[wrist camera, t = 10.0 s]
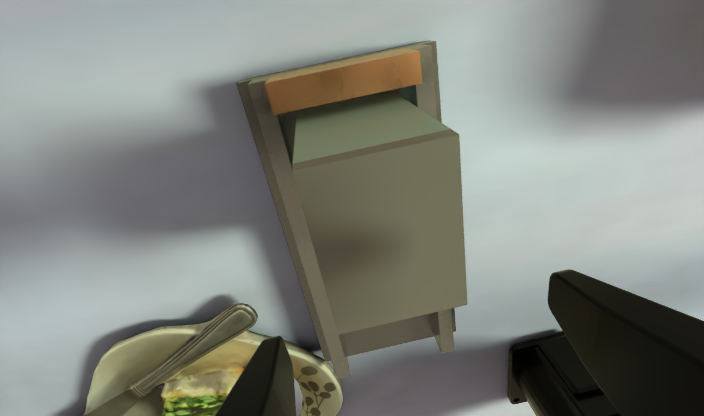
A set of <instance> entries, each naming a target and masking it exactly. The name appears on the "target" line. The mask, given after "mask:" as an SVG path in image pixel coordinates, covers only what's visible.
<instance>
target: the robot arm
mask: <svg viewBox="0 0 704 416" xmlns="http://www.w3.org/2000/svg"><path fill="white" fill-rule="evenodd" d="M548 305H549V308H550V310H551V312H552V314H553V315H554V317H555V319H556V320H557V322H558V323H559V325H560V327H561V328H562V330H563V332H564V333H563V334H559V335H555V336H551V337H546V338H542V339H538V340H534V341H529V342H525V343H521V344H517V345H514V346H512V347H511V348H510V350H509V383H508V398H509V400H510V402H511V403H512V404H518V403H522V402H527V401H528V403H529V405H530V406H531V408H532V409H533V411H534V413H535V414H536V416H704V321H702V320H699V319H697V318H694V317H692V316H689V315H687V314H684V313H682V312H679V311H676V310H674V309H671V308H669V307H666V306H664V305H661V304H658V303H656V302H653V301H651V300H648V299H646V298H643V297H641V296H638V295H635V294H633V293H630V292H628V291H625V290H623V289H620V288H617V287H615V286H612V285H610V284H607V283H605V282H602V281H600V280H597V279H594V278H592V277H589V276H587V275H584V274H582V273H579V272H577V271H574V270H563V271H559V272H555V273H552V274H551V276H550V281H549V291H548ZM215 416H296V407H295V390H294V374H293V365H292V361H291V358H290V356H289V353H288V350H287V348H286V345H285V342H284V340H283V338H282V337H280V336H277V337H272V338H268V339H264V340H263V341H262V342H261V343H260V345H259V346H258V348H257V350H256V351H255V353H254V354H253V356H252V357H251V359H250V361H249V362H248V364H247V365H246V367H245V368H244V370H243V372H242V373H241V375H240V376H239V378H238V379H237V381H236V383H235V384H234V386H233V387H232V389H231V391H230V392H229V394H228V395H227V397H226V398H225V400H224V402H223V403H222V405H221V406H220V408H219V409H218V411H217V413H216V414H215Z"/></svg>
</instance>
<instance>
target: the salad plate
mask: <svg viewBox="0 0 704 416" xmlns="http://www.w3.org/2000/svg"><path fill="white" fill-rule="evenodd" d="M257 318H258V315H257V313H256V311H255V310H254V309H253V308H252V307H251V306H249V305H247V304H242V303H241V304H235V305H233V306H231V307H229V308H228V309H226V310H225V311H223V312H222V313H221V314H219V315H218V316H217V317H215V318H214V319H212V320H211V321H209V322H205V323H200V324H192V325H183V326H163V327H159V328H155V329H153V330H150V331H146V332H143V333H141V334H138V335H136V336H133V337H131V338H128V339H124V340H121V341H119V342H117V343H115V344H114V345H113V346H112V347H111V349H110V350H109V351H108V352H106V353H105V354H104V355H103V356H102V358H101V359H100V361H99V363H98V365H97V367H96V369H95V371H94V374H93V377H92V383H91V386H90V390H89V394H88V397H87V404H86V411H85V413H84V415H83V416H215V414H216V413H217V411H218V409H219V408H220V406H221V405H222V403H223V402H224V400H225V398H226V397H227V395H228V394H229V392H230V391H231V389H232V387H233V386H234V384H235V383H236V381H237V379H238V378H239V376H240V375H241V373H242V372H243V370H244V368H245V367H246V365H247V364H248V362H249V361H250V359H251V357H252V356H253V354H254V353H255V351H256V350H257V348H258V346H259V345H260V343H261V342H262V341H263V340H264V339H268V338H272V337H269V336H265V335H260V334H256V333H252V332H249V331H247V330H248V329H249V328H251V327H252V326H253V325H254V324H255V323H256V321H257ZM284 342H285V345H286V348H287V350H288V353H289V356H290V358H291V361H292V365H293V374H294V378H295V379H296V380H297V382H298V383H299V385H300V389H301V392H302V394H303V403H302V405H303V408H302V411H301V413H300V416H337V414H338V412H339V410H340V408H341V406H342V403H343V395H342V390H341V387H342V386H341V382H340V380H339V379H337V376H336V373H335V372H334V371H333V369H332V368H331V366H330V364H329V363H328V362H327V361H326V362H325V360H324V359H322V358H320V357H319V356H317V355H315V354H313V353H311V352H309V351H307V350H305V349H303V348H302V347H300V346H298V345H296V344H294V343H291V342H289V341H286V340H284ZM160 385H165V386H164V388H163V389H159V388H157V387H158V386H160Z"/></svg>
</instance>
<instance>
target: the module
mask: <svg viewBox="0 0 704 416" xmlns="http://www.w3.org/2000/svg"><path fill="white" fill-rule="evenodd" d="M292 173H293V177H294V180H295V184H296V187H297V191H298V194H299V198H300V201H301V205H302V209H303V212H304V216H305V219H306V223H307V226H308V230H309V233H310V237H311V240H312V244H313V247H314V251H315V255H316V258H317V262H318V265H319V269H320V272H321V276H322V279H323V283H324V286H325V290H326V294H327V297H328V301H329V304H330V308H331V311H332V315H333V318H334V322H335V325H336V329H337V332H338V335H339V334H343V333H348V332H352V331H356V330H361V329H365V328H369V327H374V326H378V325H382V324H387V323H391V322H395V321H399V320H404V319H408V318H412V317H417V316H421V315H425V314H430V313H434V312H438V311H442V310H447V309H451V308H455V307H460V306H464V305H467V289H466V269H465V248H464V227H463V206H462V185H461V164H460V143H459V134H458V133H456V132H454V131H453V130H451V129H450V128H448V127H447V126H445V125H444V124H442V123H441V122H439V121H438V120H436V119H435V118H433V117H432V116H430V115H428V114H427V113H425V112H424V111H422V110H421V109H419V108H418V107H416V106H415V105H413V104H412V103H410V102H409V101H407V100H405V99H404V98H402V97H401V96H399V95H398V94H396V93H395V92H393V91H388V92H383V93H379V94H374V95H370V96H365V97H360V98H356V99H351V100H346V101H342V102H337V103H332V104H328V105H323V106H319V107H314V108H309V109H305V110H300V111H297V117H296V129H295V141H294V153H293V165H292Z"/></svg>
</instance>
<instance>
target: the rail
mask: <svg viewBox="0 0 704 416" xmlns="http://www.w3.org/2000/svg"><path fill="white" fill-rule="evenodd" d="M237 87H238V90H239V93H240V96H241V99H242V102H243V105H244V108H245V112H246V115H247V118H248V121H249V124H250V127H251V130H252V134H253V137H254V140H255V143H256V146H257V149H258V152H259V155H260V159H261V162H262V165H263V168H264V171H265V174H266V177H267V181H268V184H269V187H270V190H271V193H272V196H273V199H274V202H275V206H276V209H277V212H278V215H279V218H280V221H281V224H282V228H283V231H284V234H285V237H286V240H287V243H288V246H289V249H290V253H291V256H292V259H293V262H294V265H295V268H296V271H297V275H298V278H299V281H300V284H301V287H302V290H303V293H304V296H305V300H306V303H307V306H308V309H309V312H310V315H311V318H312V322H313V325H314V328H315V331H316V334H317V337H318V340H319V343H320V347H321V350H322V353H323V356H324V359H325V362H326V361H330V360H332V362H333V366H334V369H335V372H336V376H337V379H338V378H342V377H346V376H350V373H349V366H348V358H347V356H351V355H356V354H360V353H364V352H368V351H373V350H377V349H381V348H386V347H390V346H394V345H398V344H403V343H407V342H411V341H416V340H420V339H424V338H428V337H433V336H434V337H435V339H436V341H437V344H438V346H439V348H440V351H441V353H442V354H444V353H449V352H453V351H454V342H453V332H454V331H456V326H455V311H454V308H451V309H447V310H442V311H438V312H434V313H430V314H425V315H421V316H417V317H412V318H408V319H404V320H399V321H395V322H391V323H387V324H382V325H378V326H374V327H369V328H365V329H361V330H356V331H352V332H348V333H343V334H339V335H338V332H337V329H336V325H335V322H334V318H333V315H332V311H331V308H330V304H329V301H328V297H327V294H326V290H325V286H324V283H323V279H322V276H321V272H320V269H319V265H318V262H317V258H316V255H315V251H314V247H313V244H312V240H311V237H310V233H309V230H308V226H307V223H306V219H305V216H304V212H303V209H302V205H301V201H300V198H299V194H298V191H297V187H296V184H295V180H294V177H293V173H292V165H293V153H294V141H295V129H296V117H297V111H300V110H305V109H309V108H314V107H319V106H323V105H328V104H332V103H337V102H342V101H346V100H351V99H356V98H360V97H365V96H370V95H374V94H379V93H383V92H388V91H393V92H395V93H396V94H398V95H399V96H401V97H402V98H404V99H405V100H407V101H409V102H410V103H412V104H413V105H415V106H416V107H418V108H419V109H421V110H422V111H424V112H425V113H427V114H428V115H430V116H432V117H433V118H435V119H436V120H438V121H439V122H441V108H440V93H439V79H438V64H437V49H436V41H425V42H421V43H416V44H411V45H406V46H402V47H397V48H392V49H387V50H383V51H378V52H373V53H368V54H364V55H359V56H354V57H350V58H345V59H340V60H335V61H331V62H326V63H321V64H316V65H312V66H307V67H302V68H297V69H293V70H288V71H283V72H278V73H274V74H269V75H264V76H259V77H255V78H250V79H245V80H241V81H239V82H238V83H237ZM441 123H442V122H441Z"/></svg>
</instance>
